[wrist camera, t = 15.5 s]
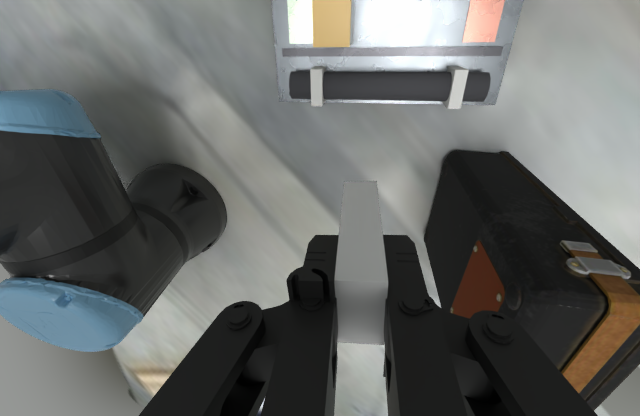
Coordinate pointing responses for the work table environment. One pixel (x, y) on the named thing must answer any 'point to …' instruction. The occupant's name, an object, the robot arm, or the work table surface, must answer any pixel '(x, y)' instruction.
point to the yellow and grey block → (333, 23)
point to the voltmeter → (535, 269)
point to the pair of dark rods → (391, 86)
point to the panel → (401, 40)
